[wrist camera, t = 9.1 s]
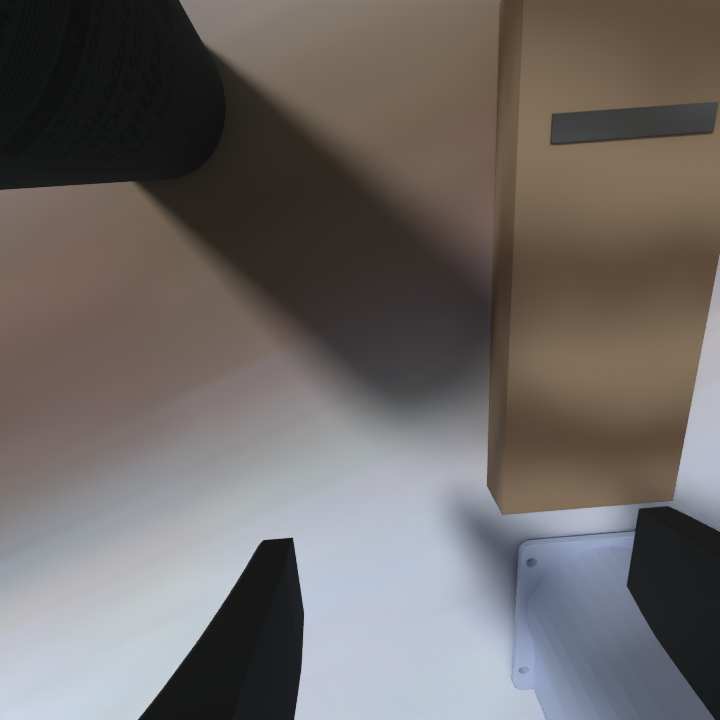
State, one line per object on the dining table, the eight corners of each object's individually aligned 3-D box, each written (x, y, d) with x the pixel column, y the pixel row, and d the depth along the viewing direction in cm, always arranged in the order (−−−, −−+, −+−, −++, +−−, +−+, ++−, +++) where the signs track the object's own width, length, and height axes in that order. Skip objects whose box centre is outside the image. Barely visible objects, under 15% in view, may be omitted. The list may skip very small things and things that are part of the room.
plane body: (641, 472, 20) (674, 502, 18) (487, 485, 20) (503, 516, 18) (718, -14, 14) (780, -51, 12) (499, 1, 14) (526, -34, 12)
